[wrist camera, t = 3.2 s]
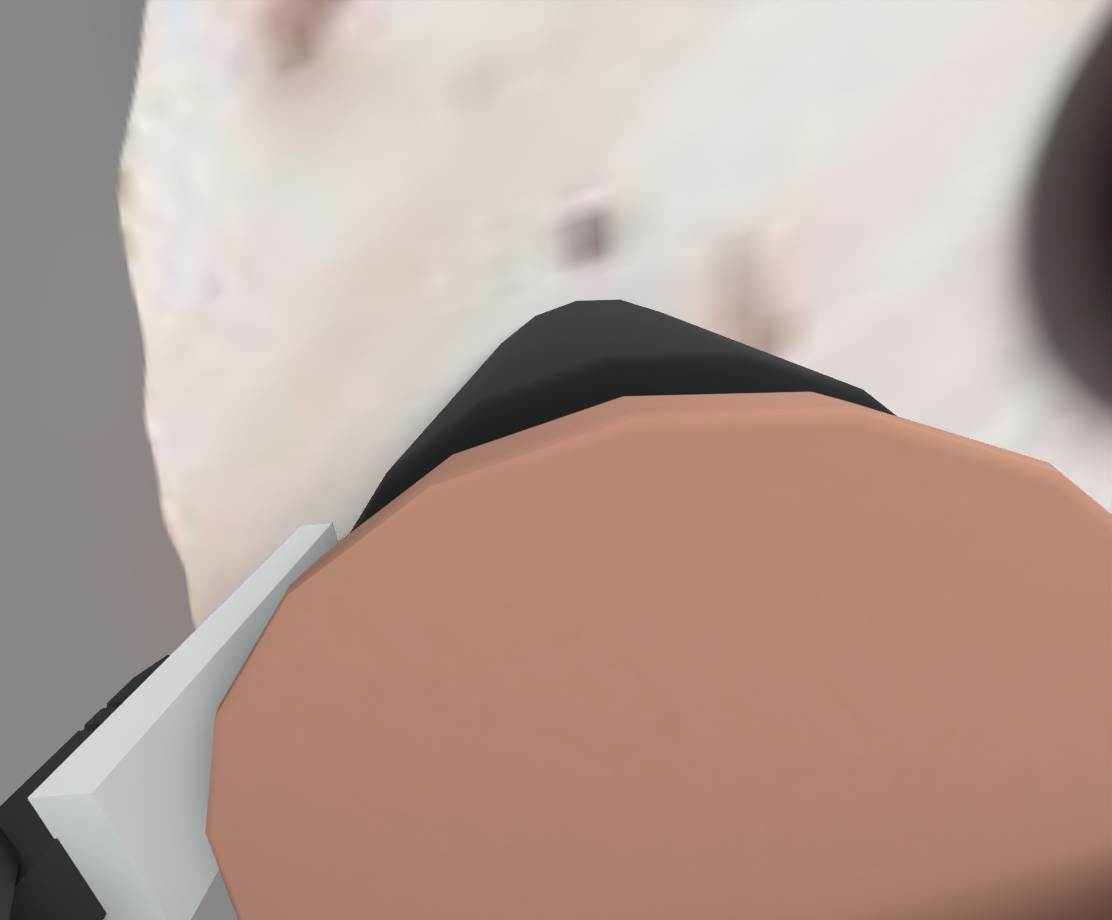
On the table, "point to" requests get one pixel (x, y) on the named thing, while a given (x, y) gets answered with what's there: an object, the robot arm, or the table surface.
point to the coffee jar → (680, 661)
